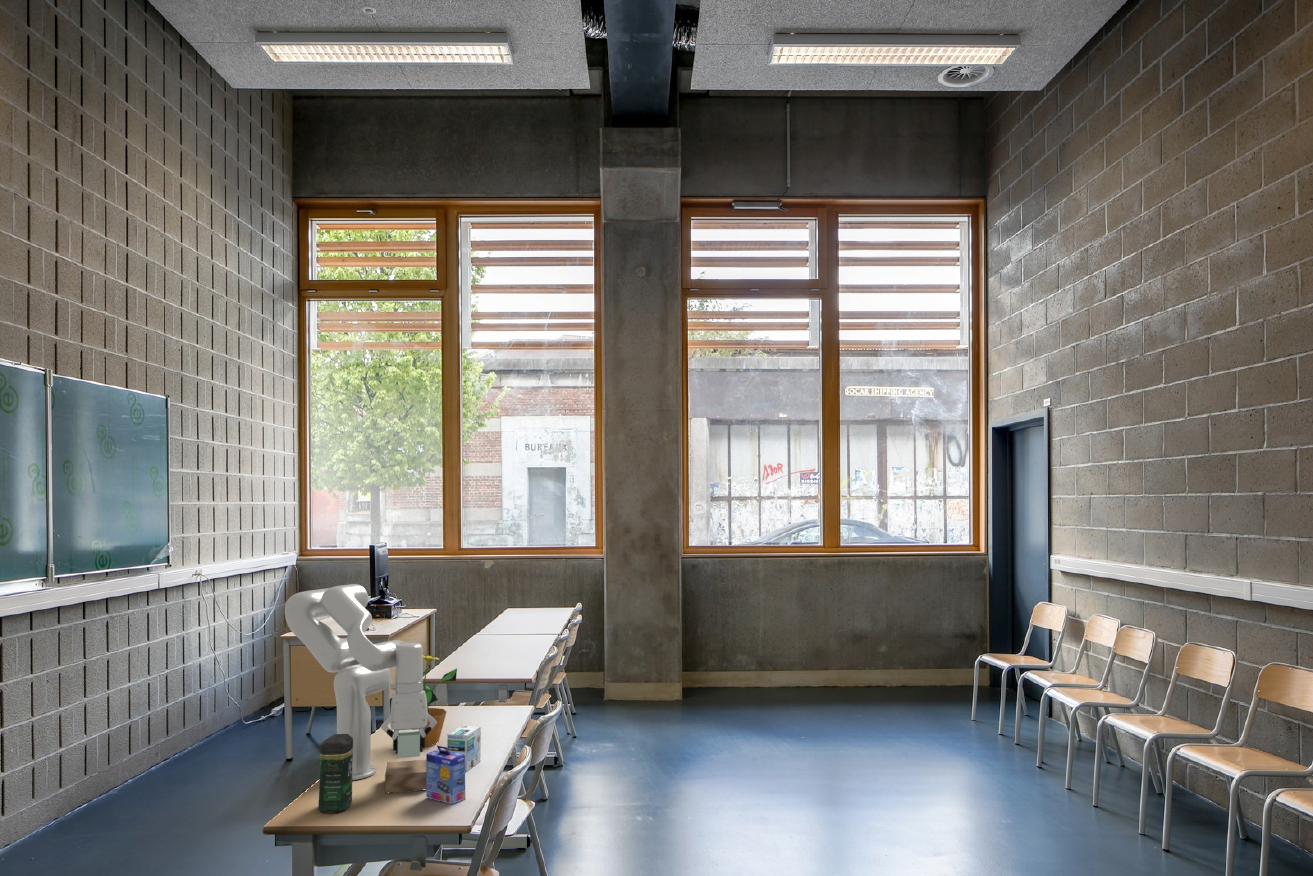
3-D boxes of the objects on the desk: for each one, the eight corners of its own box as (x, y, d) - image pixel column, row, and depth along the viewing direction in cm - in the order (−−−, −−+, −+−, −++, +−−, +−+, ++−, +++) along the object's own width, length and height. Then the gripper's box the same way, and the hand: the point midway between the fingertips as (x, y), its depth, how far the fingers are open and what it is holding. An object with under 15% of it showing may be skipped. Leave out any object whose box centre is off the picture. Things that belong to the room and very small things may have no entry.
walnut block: (384, 793, 249) (385, 775, 250) (387, 780, 261) (387, 762, 261) (429, 790, 252) (429, 771, 252) (429, 776, 264) (430, 759, 264)
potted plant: (448, 751, 289) (449, 656, 291) (390, 751, 290) (391, 656, 291) (462, 735, 307) (462, 646, 309) (407, 735, 308) (408, 646, 309)
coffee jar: (346, 813, 234) (347, 741, 235) (315, 814, 234) (316, 741, 235) (355, 800, 244) (356, 731, 245) (325, 801, 243) (326, 731, 244)
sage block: (397, 758, 253) (397, 736, 254) (398, 752, 259) (398, 731, 259) (419, 756, 255) (419, 734, 255) (420, 750, 260) (420, 729, 261)
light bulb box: (467, 772, 268) (467, 735, 269) (446, 771, 269) (446, 734, 270) (481, 761, 278) (481, 726, 279) (460, 760, 280) (461, 724, 280)
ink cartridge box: (424, 799, 245) (425, 744, 246) (439, 793, 250) (439, 739, 251) (451, 805, 240) (452, 750, 241) (466, 799, 245) (466, 744, 246)
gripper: (376, 692, 252) (376, 758, 251) (440, 688, 256) (440, 753, 255) (378, 686, 260) (378, 750, 259) (440, 683, 264) (440, 745, 263)
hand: (409, 751), depth 257 cm, fingers closed on sage block, 6 cm apart
